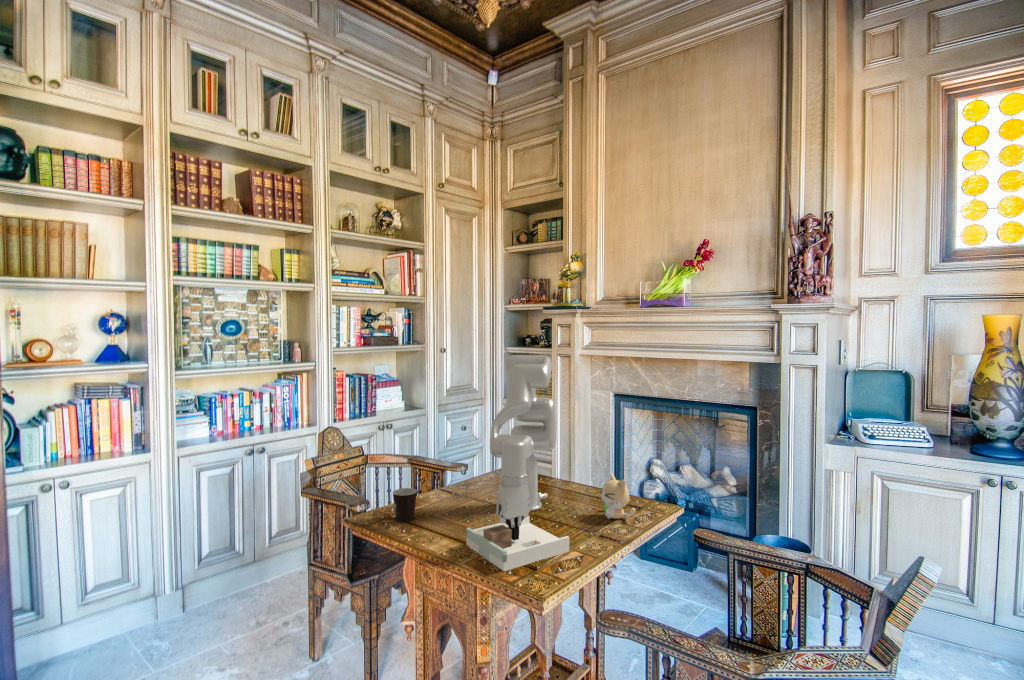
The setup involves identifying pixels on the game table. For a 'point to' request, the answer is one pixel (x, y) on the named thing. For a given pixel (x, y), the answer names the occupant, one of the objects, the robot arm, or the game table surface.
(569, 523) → the game table surface
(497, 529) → the walnut block
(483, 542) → the board
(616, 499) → the kitten
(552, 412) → the robot arm
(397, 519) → the coffee mug
